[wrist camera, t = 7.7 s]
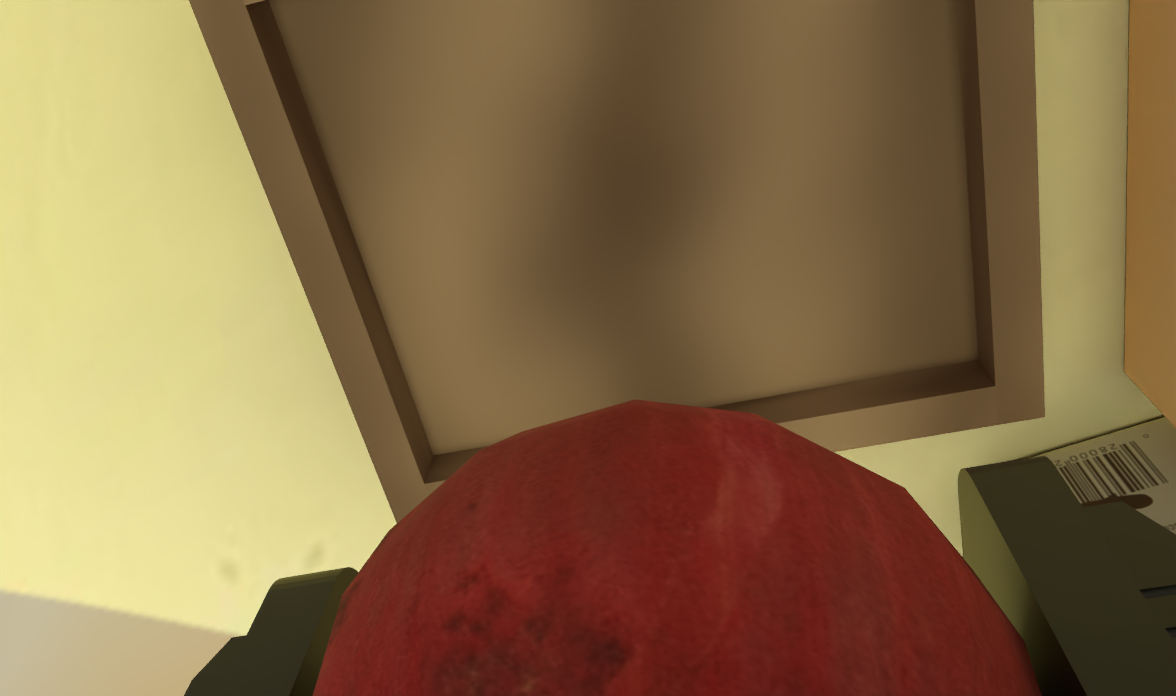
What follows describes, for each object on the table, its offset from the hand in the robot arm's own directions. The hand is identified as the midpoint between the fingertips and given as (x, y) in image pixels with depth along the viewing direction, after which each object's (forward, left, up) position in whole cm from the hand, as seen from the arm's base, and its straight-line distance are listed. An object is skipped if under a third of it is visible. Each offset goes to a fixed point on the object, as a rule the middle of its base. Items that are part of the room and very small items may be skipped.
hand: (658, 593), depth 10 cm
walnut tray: (0, 0, -13) cm, 13 cm away
